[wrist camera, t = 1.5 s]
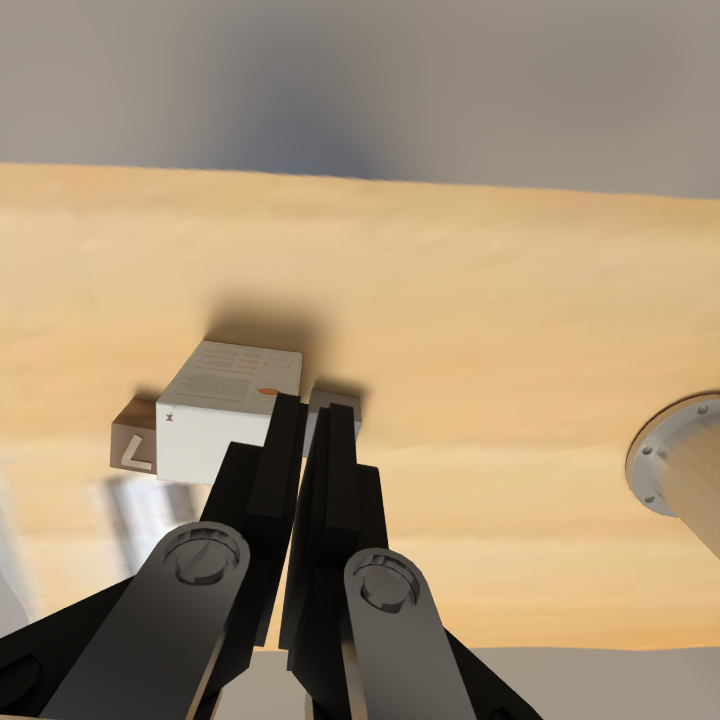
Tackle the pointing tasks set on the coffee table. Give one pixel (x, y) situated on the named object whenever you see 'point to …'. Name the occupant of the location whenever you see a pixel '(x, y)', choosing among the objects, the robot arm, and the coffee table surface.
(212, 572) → the robot arm
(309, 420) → the digit one block
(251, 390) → the small box
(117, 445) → the digit seven block
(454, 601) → the coffee table surface
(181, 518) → the coffee table surface
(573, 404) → the coffee table surface
